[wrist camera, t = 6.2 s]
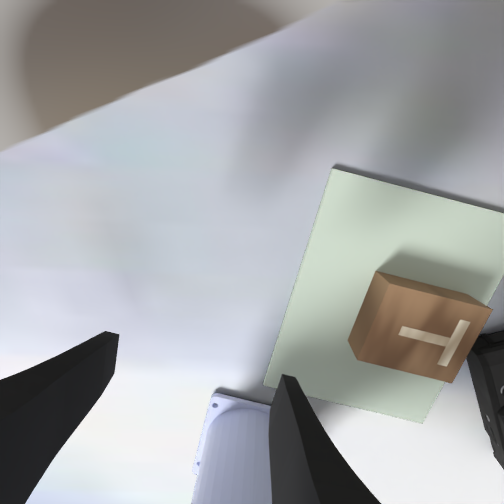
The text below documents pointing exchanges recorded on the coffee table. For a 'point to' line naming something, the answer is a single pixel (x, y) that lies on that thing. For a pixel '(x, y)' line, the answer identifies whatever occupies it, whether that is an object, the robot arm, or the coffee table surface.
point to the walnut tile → (416, 327)
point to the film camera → (490, 386)
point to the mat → (360, 276)
